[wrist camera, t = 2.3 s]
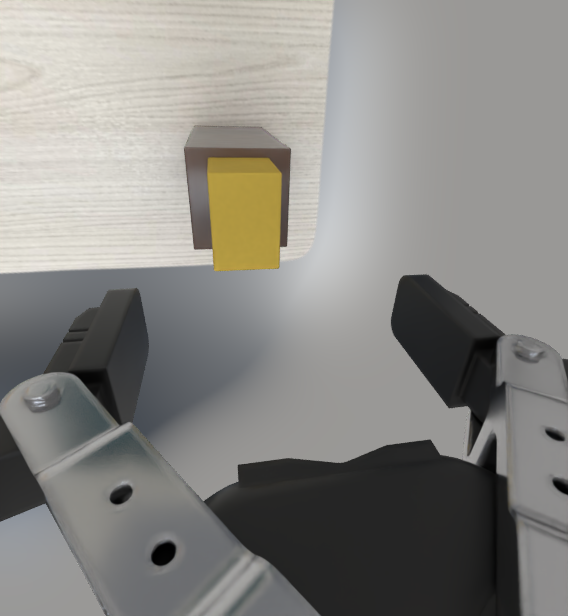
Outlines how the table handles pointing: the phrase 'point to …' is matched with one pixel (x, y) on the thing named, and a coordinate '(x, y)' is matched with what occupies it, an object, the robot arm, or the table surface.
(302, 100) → the table surface
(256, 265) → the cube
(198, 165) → the stand
